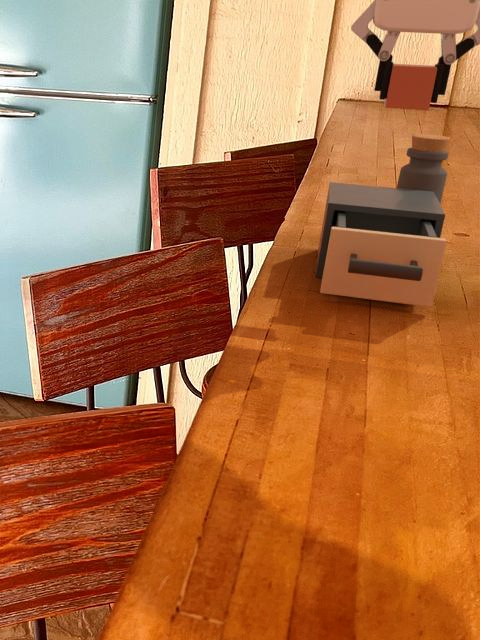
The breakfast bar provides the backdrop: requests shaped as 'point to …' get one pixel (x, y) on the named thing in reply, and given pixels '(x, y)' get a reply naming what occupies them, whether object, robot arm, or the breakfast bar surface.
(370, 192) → the cabinet
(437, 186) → the bottle
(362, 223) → the drawer
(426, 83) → the block
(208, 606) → the breakfast bar surface
